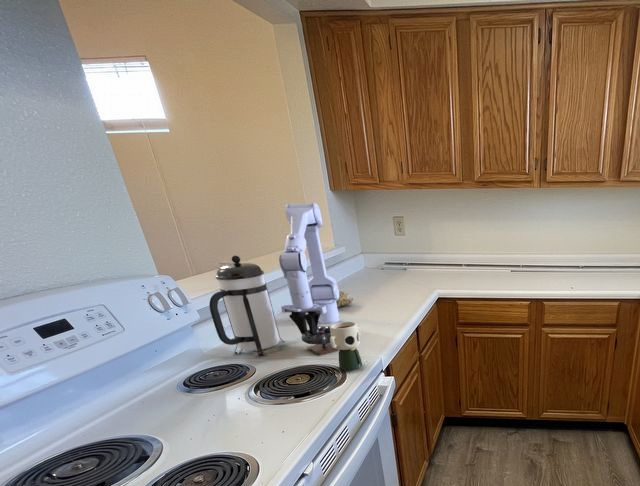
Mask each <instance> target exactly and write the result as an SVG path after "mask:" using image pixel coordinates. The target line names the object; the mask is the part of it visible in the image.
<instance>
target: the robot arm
mask: <svg viewBox="0 0 640 486" xmlns="http://www.w3.org/2000/svg"><path fill="white" fill-rule="evenodd" d="M319 206H320V205H318V204H317V202H310V203H308V202H307V203H304V202H303V203H289V202H288V203H286V204H285V207H284V208H285V209H284V212H285V216H286V219H287V221H288V222H289V224H290V233H289V234H288V235H287V236H286V238H285V243H284V249H283V252H282V254H280V255H279V256H278V261H279V262H278V263H279V267H280V269H281V271H282V274H283V277H284V279H286V283H287V287H288V291H289V292H288V293H289V295H290V298H291V299H290V300H291V304H284V305H281V306H280V308H281V311H282V313H283V314H285V313H291V314H289V318H290V319H291V321H293V323H294V324H295V325H296V327H297V329H298V331H299V332H300V334H301V335H302V334H303V332H305V331H307V330H309V329H310V333H311V335H316V334H317V327H319V326H318V325H319V323H320V325H321V324H322V325H332V324H335V323H339V322H341V320H340V315H339V309H338V307H337V303H336V300H338V299H339V291H340V290H339V285H338V283H337V280H336V279H335V278H334V277H332V276H330V275H329V274H327V269H326V263H325V257H324V254H323V248H322V244H321V238H320V232H319V229H321V228H322V227H323V226H324V225H323V218H322V217H323V216H322V213H321V208H320V207H319ZM306 249H307V251H306ZM306 252H307V253H308V258H309V264H310V267H311V273H312V277H311V278H310V279H309V280H308V275H307V270H308V263H307V255H306ZM312 302H314V305H313V303H312ZM307 325H308V326H307ZM308 328H309V329H308Z"/></svg>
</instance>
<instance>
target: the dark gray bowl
mask: <svg viewBox="0 0 640 486" xmlns="http://www.w3.org/2000/svg"><path fill="white" fill-rule="evenodd" d="M330 326H331V325H324V326H317V334H316V335H311V333H310V329H307V331H305V332H303V334H301V337H300V339H301V341H302V342H303V343H306V344H308V345H318V344H327V343H330V337H331V331H330ZM320 331H324V332H325V335H319V332H320Z"/></svg>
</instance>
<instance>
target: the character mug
mask: <svg viewBox="0 0 640 486" xmlns="http://www.w3.org/2000/svg"><path fill="white" fill-rule="evenodd" d="M329 326H330V331H331V337H330V342H331V346H332V348H335V349H338V350H337V351H338V352H337V353H338V367H339V369H340V370H343V371H346V372H347V371H348V372H349V371H355V370H358V369H359V366H360V368H362V367H363V362H362V358H361V355H360V353H359V350H358V349H357V348H358V347H359V346H360V344H361V339H360V336H361V334H360V327H359V326H358V324H357V322H355V321H347V320H346V321H338V322H336V323H332V324H330V325H329Z"/></svg>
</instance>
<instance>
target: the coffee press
mask: <svg viewBox="0 0 640 486" xmlns="http://www.w3.org/2000/svg"><path fill="white" fill-rule="evenodd" d="M231 261H232V264H225V265H222V266H220V267H219V268H218V269H217V271H216V274H215V280H217V283H218V285H219V291H217V292H215V293H214V294H212V295H211V297H210V299H209V311H210V314H211V317H212V318H211V319H212V322H213V325H214V328H215V331H216V334H217V336H218V338H219V340H220V341H221V342H222V343H223V344H226V345H229V346H234V345H237V346H236V347H235V349H234V354H235V355H240V354H241V353H242V351H246V352H257V355H258V357H259V358H260V357H264V356H265V355H264V351H263V350H267V349H270V348H273V347H275V346H276V345H278V344H279V342H280V341H282V342H283V343H285V340H283V339H282V338H281V335H280V332H279V331H280V330H279V328H278V325H277V320H276V317H275V312H274V309H273V304H272V301H271V296H270V293H269V289H268V286H267V285H268V284H267V282H266V281H265V278H264V276H265V272H264V270H263V269H262V268H261V267H260V266H259V265H258V264H255V263H250V262H242V263H241V258H240V256H238V255H233V256H231ZM221 299H222V301H223V304H224V308H225V310H226V314H227V317H228V321H229V324H230V327H231V330H232V334H233V336H234V338H230V337H228V335H227V334H226V331H225V328H224V325H223V321H222V318H221V314H220V312H219V308H218V306H219V305H218V304H219V301H220V300H221ZM283 347H285V345H284V346H283ZM237 349H240V350H239V352H236V350H237Z"/></svg>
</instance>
